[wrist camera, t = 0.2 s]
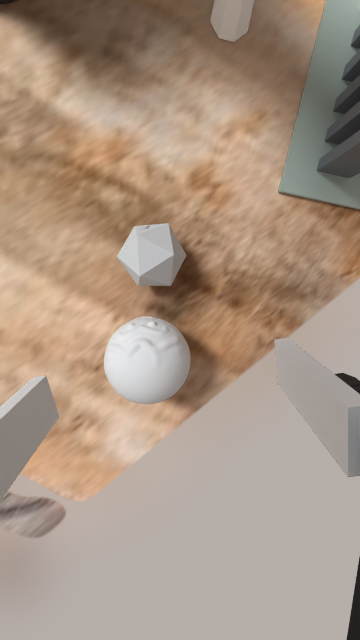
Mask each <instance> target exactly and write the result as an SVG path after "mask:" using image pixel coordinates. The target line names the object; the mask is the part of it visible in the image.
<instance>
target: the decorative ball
mask: <svg viewBox="0 0 360 640" xmlns="http://www.w3.org/2000/svg"><path fill="white" fill-rule="evenodd" d="M190 361H191V359H190V351H189V347H188V344H187V342H186V340H185V338H184V337H183V335H182V334H181V333H180V331H179V330H178V329H177V328H175V327H174V326H173V325H172V324H170V323H168V322H166V321H164V320H162V319H158V318H153V317H148V316H143V317H139V318H135V319H133V320H132V321H130V322H128V323H126V324H124V325H123V326H121V327H120V328H119V329H118V330H117V331H116V332H115V333H114V334H113V336H112V337H111V339H110V340H109V342H108V345H107V348H106V352H105V357H104V369H105V373H106V376H107V378H108V380H109V382H110V384H111V385H112V387H113V388H114V389H115V390H116V392H117V393H119V394H120V395H121V396H122V397H124V398H126V399H127V400H129V401H132V402H135V403H139V404H154V403H158V402H161V401H164V400H166V399H168V398H170V397H171V396H173V395H174V394H175V393H176V392H177V391H178V390H179V389H180V388H181V387H182V385H183V384H184V382H185V380H186V378H187V376H188V373H189V369H190Z"/></svg>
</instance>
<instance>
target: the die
mask: <svg viewBox="0 0 360 640" xmlns="http://www.w3.org/2000/svg"><path fill="white" fill-rule="evenodd" d="M185 257H186V253H185V252H184V250H183V248H182V246H181V245H180V243H179V241H178V239H177V238H176V236H175V234H174V232H173V230H172V229H171V227H170V225H169V223H168V224H155V225H143V226H134V228H133V230H132V231H131V233H130V235H129V237H128V238H127V240H126V242H125V244H124V245H123V247H122V249H121V251H120V252H119V254H118V256H117V258H118V259H119V260H120V262H121V263H122V265H123V266H124V267H125V269H126V270H127V271H128V273H129V274H130V275H131V277H132V278H133V279H134V281H135V282H136V284H137V285H138V286H171V284H172V282H173V281H174V279H175V277H176V275H177V273H178V271H179V269H180V267H181V265H182V263H183V261H184V259H185Z"/></svg>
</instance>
